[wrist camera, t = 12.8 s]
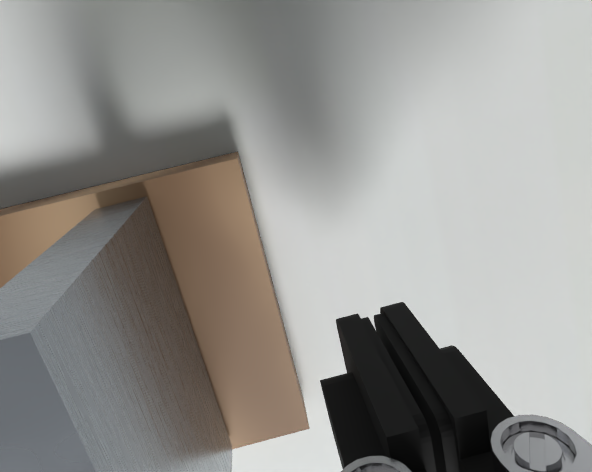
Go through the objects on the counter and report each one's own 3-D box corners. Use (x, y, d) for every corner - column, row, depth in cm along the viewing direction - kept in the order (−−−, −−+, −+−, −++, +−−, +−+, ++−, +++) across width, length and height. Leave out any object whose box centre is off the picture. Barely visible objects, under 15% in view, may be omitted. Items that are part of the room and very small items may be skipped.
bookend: (147, 196, 13) (30, 332, 6) (231, 445, 16) (224, 742, 9) (95, 209, 13) (-90, 362, 6) (190, 457, 16) (147, 764, 9)
